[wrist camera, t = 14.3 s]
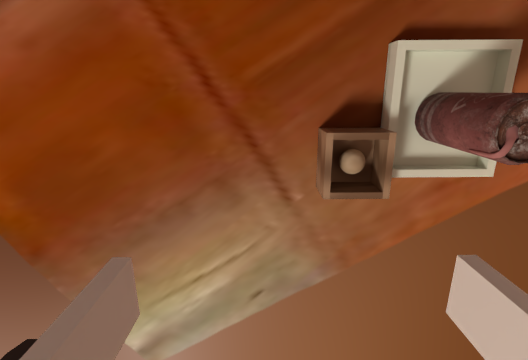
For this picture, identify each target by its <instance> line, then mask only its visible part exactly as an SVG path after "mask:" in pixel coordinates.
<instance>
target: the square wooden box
mask: <svg viewBox="0 0 528 360" xmlns="http://www.w3.org/2000/svg"><path fill="white" fill-rule="evenodd" d="M396 135H397V132H393V131H390V130H387V129H384V128H380V127H379V128H319V135H318V157H317V179H316V187H317V189H318V191H319V193H320V194H321V196H322V198H323V199H389V194H390V186H391V177H392V169H393V161H394V152H395V144H396ZM348 149H356V150H359V151H360V152H362V153H363V155H364V157H365V166H364V168H363V169H362V170H361V171H360V172H359V173H356V174H348V173H345V172H344V171H343V170H342V169H341V168H340V165H339V158H340V156H341V154H342V153H343V152H344V151H346V150H348Z"/></svg>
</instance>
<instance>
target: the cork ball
mask: <svg viewBox="0 0 528 360" xmlns="http://www.w3.org/2000/svg"><path fill="white" fill-rule="evenodd" d="M339 165H340V168H341V169H342V170H343V171H344V172H345V173H348V174H356V173H359V172H360V171H361V170H362V169H363V168H364V166H365V157H364V155H363V153H362V152H360V151H359V150H356V149H348V150H346V151H344V152H343V153H342V154H341V156H340V158H339Z"/></svg>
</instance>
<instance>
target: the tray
mask: <svg viewBox="0 0 528 360" xmlns="http://www.w3.org/2000/svg"><path fill="white" fill-rule="evenodd" d="M522 43H523V39H509V40H398V41H395V42H392V43H390V44H389V49H388V59H387V68H386V78H385V88H384V97H383V107H382V117H381V126H380V128H384V129H387V130H390V131H393V132H397V135H396V144H395V152H394V161H393V169H392V177H493V175H494V170H495V166H496V161H494V160H491V159H487V158H484V157H481V156H477V155H474V154H471V153H467V152H464V151H461V150H458V149H454V148H451V147H448V146H444V145H441V144H438V143H434V142H431V141H428V140H425V139H424V138H423V137H421V136H420V135H419V133H418V132H417V130H416V126H415V115H416V112H417V110H418V107H419V106H420V105H421V103H422V102H423V101H424V100H425V99H427V98H428V97H429V96H431V95H433V94H436V93H439V92H476V93H512V88H513V84H514V79H515V74H516V70H517V65H518V61H519V56H520V52H521V47H522Z"/></svg>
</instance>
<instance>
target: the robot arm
mask: <svg viewBox="0 0 528 360" xmlns="http://www.w3.org/2000/svg"><path fill="white" fill-rule="evenodd" d="M446 313H447V314H448V315H449V317H450V318H451V319H452V320H453V321H454V323H455V324H456V325H457V326H458V327H459V329H460V330H461V331H462V332H463V333H464V335H465V336H466V337H467V338H468V340H469V341H470V342H471V343H472V344H473V346H474V347H475V348H476V349H477V350H478V352H479V353H480V354H481V355H482V356H483V358H484V359H485V360H528V294H526V293H525V292H524V291H522V290H521V289H519V287H517V286H516V285H515V284H513V283H512V282H511V281H509V280H508V279H507V278H506V277H504V276H503V275H502V274H500V273H499V272H498V271H496V270H495V269H494V268H492V267H491V266H490V265H488V264H487V263H486V262H485V261H483V260H482V259H481V258H480V257H478V256H477V255H457V259H456V264H455V270H454V274H453V279H452V284H451V289H450V294H449V299H448V304H447V309H446ZM139 315H140V312H139V306H138V299H137V292H136V286H135V279H134V272H133V265H132V259H131V257H112V258H111V259H110V260H109V262H108V263H107V264H106V265H105V266H104V267H103V268H102V269H101V270H100V271H99V273H98V274H97V275H96V276H95V277H94V278H93V279H92V280H91V281H90V282H89V284H88V285H87V286H86V287H85V288H84V289H83V290H82V291H81V292H80V293H79V295H78V296H77V297H76V298H75V299H74V300H73V301H72V302H71V303H70V305H69V306H68V307H67V308H66V309H65V310H64V311H63V312H62V313H61V314H60V316H59V317H58V318H57V319H56V320H55V321H54V322H53V323H52V324H51V325H50V327H49V328H48V329H47V330H46V331H45V332H44V333H43V334H42V335H41V336H40V338H39V339H27V340H25V341H24V342H22V343H21V344H20V345H18V346H17V347H16V348H14V349H12V350H11V351H10V352H8V353H7V354H6V355H5V356H4V357H3V358H2V359H1V360H115V358H116V356H117V354H118V353H119V351H120V349H121V347H122V345H123V344H124V342H125V340H126V338H127V336H128V335H129V333H130V331H131V329H132V327H133V326H134V324H135V322H136V320H137V318H138V317H139Z"/></svg>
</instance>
